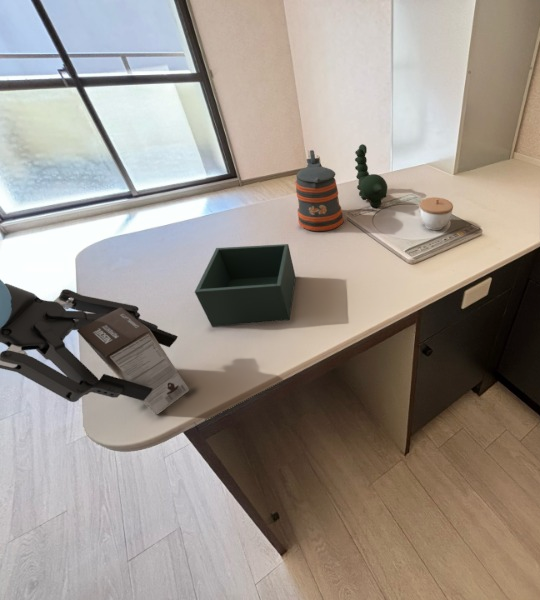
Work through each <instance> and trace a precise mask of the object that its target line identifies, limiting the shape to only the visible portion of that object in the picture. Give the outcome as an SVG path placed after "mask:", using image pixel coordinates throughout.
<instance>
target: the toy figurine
mask: <svg viewBox="0 0 540 600" xmlns="http://www.w3.org/2000/svg"><path fill="white" fill-rule="evenodd" d="M367 149H368V148H367V146H366V144H363V143H361V144H360V145H359V146H358V149H357V150H355V152H354V153H355V155H356V157H355V158H354V161H355V162H356V164H357V165H356V166H355V167H354V170H355V171H357V174H356V176H355V177H356V179H357V180H358V185H357V186H356V189H357V190H358V195H359V197H360V198H361V199H362V200H363V201H369V206H370V207H372V208H379V207H381V206H382V200H384V199H386V198H387V196H388V195H387V193H388V183H387V181H386V180H385V179H384V177H383V176H381V175H380V174H377V173H371V174H370V172H369V171H368V169H369V167H368V164H367V160H368V159H367V156H366V154H367V153H368V152H367Z"/></svg>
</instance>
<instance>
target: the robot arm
mask: <svg viewBox="0 0 540 600" xmlns="http://www.w3.org/2000/svg"><path fill="white" fill-rule="evenodd" d="M120 307H122V308H123V309H124V310H126V311H127V312H128V313H130V314H131V315H132V316H133V317H135V318H136V319H137V320H138V321H140V322H141V323H142V324H143V325H145V326H146V327H147V328H148V329H150V331H151V332H152V334H153V335H154V337H155V338H156V340H157V341H158V343H159V344H160V346H165V347H167V348H171V347H172V346H173V344H174V343H175V342H176V340H177V339H178V338H179V337H178V335H176V334H174V333H171V332H168V331H165V330H163V329H161V328H159V326H158V325H157V324H155V323H152V322H149V321H147V320H145V319H141V318H140V317H141V314H140V313H139V312H138V311H139V307H138V306H136V305H133V304H128V303H123V302H118V301H114V300H107V299H102V298H97V297H92V296H88V295H83V294H81V293H78V292H75V291H73V290H71V289H66V288H65V289H62V290H61V292H60V294H59V295H58V296H57V297H56V298H55V299H54V300H46V299H45V300H44V299H41V298H40V297H39V296H38V295H36V294H35V293H33V292H31V291H29V290H26V289H23V288H20V287H17V286H16V285H12V284H9V283H5V282H4V281H2V279H0V344H3V345H5V346H7V347H8V348H7V349H6V350H3V351H2V352H0V369H2V370H5V371H10V372H14V373H18V374H19V375H21V376H23V377H25V378H27V379H29V380H31V382H33V383H36V384H37V385H39V386H41V387H43V388H45V389H46V390H48V391H50V392H52V393H54V394H55V395H57V396H59V397H61V398H63V399H64V400H66V401H69V402H71V403H75V402H78V401H80V399H82V397H84V396H85V395H86V396H87V395H89V394H91V393H94V394H98V395H101V396H106V397H109V398H113V399H115V398H118V397H119V396H124V397H129V398H132V399H136V400H139V401H141V400H143V401H144V400H145V399H146V397H147V396H148V395H149V394H150V393H151V392H152V389H153V388H150V387H147V386H143V385H140V384H137V383H133V382H130V381H126V380H123V379H120V378H118V377H117V376H112V375H109V374H106V373H102V376H101V377H100V378H98V376H96V375H95V374H94V373H93V372H92V371H91V370H90V369H89V368H88V367H87V366H86V365H85V364H84V363H83V362H82V361H80V359H79V358H77V356H75V354H74V353H72V351H70V350H69V349H68V348H67V347H66V344H65V341H64V340H65V338H66V337H68V336H69V334H70V333H71V332H72V331H77V330H78V329H80V328H82V327H84V326H86V325H88V324H90V323H92V322H93V321H95V320H97V319H99V318H101V317H103V316H105V315H107V314H109V313H111V312H112V311H114V310H116V309H118V308H120ZM70 309H71V310H70ZM34 350H35V351H36V352H38V353H39V354H40V355H41V356H42V357H43V358H44V359H45V360H48V361H50V362H51V363H52V364H53V365H55V367H56V368H58V369H59V371H58V370H56V369H54V368H52V367H51V366H49V365H47V364H46V363H44V362H42V361H40V360H39V359H37V358H35V357H33V356H30V355H28V353H27V352H26V351H34Z"/></svg>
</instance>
